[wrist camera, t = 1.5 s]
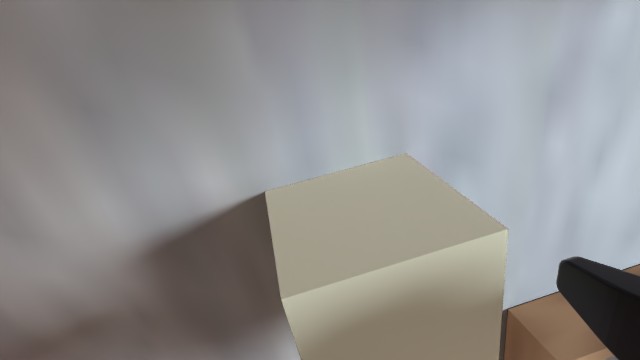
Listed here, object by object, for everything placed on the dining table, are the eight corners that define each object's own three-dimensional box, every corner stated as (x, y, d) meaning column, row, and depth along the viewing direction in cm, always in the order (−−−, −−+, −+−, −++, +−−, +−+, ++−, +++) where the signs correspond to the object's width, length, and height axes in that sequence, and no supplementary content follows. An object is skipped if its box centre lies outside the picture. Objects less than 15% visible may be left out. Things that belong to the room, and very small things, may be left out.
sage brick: (405, 152, 12) (508, 228, 7) (414, 262, 14) (497, 373, 9) (264, 190, 11) (280, 299, 7) (297, 299, 13) (326, 435, 9)
